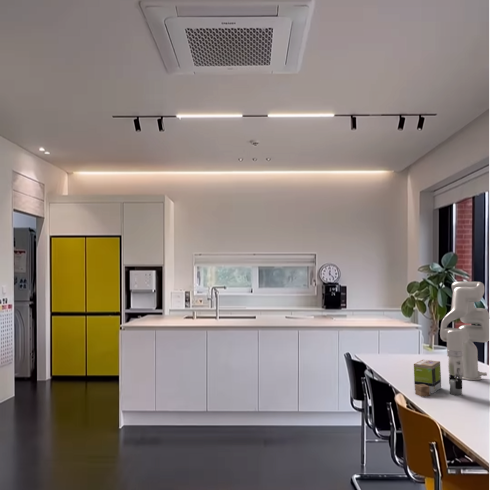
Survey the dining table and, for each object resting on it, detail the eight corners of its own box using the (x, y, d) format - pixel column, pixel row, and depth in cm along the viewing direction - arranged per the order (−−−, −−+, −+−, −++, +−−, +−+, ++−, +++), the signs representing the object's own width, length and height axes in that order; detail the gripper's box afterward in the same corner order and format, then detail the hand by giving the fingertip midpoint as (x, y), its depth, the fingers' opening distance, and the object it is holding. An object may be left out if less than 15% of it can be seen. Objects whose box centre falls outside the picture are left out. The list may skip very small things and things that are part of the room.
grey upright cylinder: (459, 392, 244) (459, 379, 244) (463, 395, 238) (463, 381, 239) (448, 392, 245) (448, 379, 245) (452, 395, 239) (451, 381, 239)
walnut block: (423, 393, 243) (423, 384, 243) (429, 396, 238) (429, 386, 238) (415, 394, 241) (415, 384, 242) (421, 396, 237) (420, 386, 237)
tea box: (423, 385, 260) (422, 358, 261) (441, 388, 253) (441, 361, 254) (414, 390, 248) (413, 363, 249) (433, 393, 242) (432, 365, 243)
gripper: (468, 356, 234) (469, 391, 232) (456, 351, 251) (457, 383, 250) (452, 356, 234) (453, 390, 233) (442, 350, 252) (443, 382, 250)
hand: (455, 386), depth 241 cm, fingers open, 9 cm apart
